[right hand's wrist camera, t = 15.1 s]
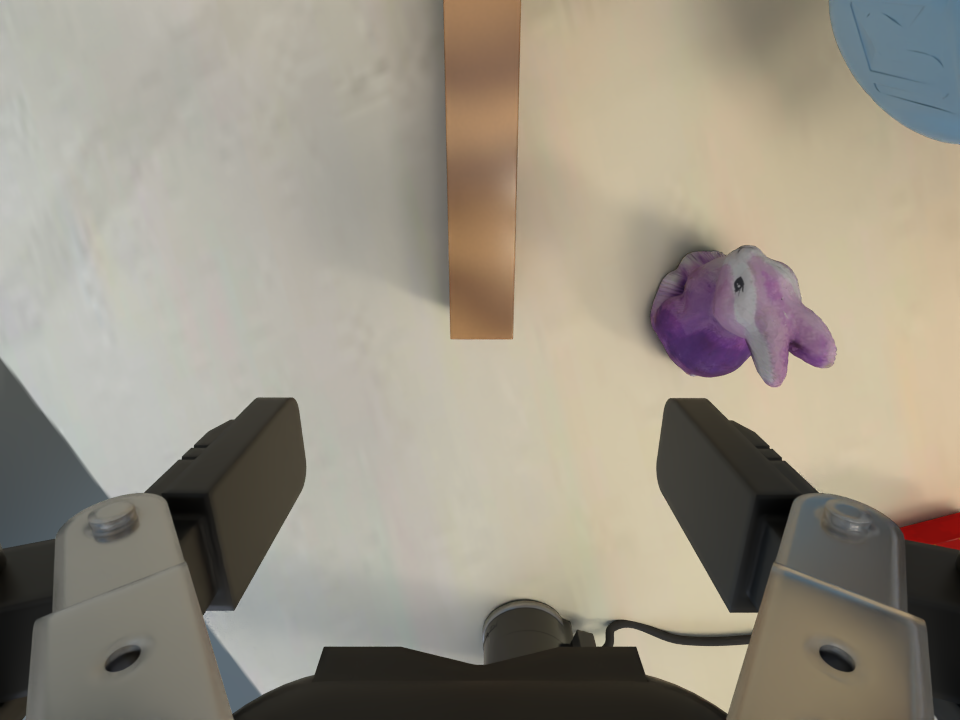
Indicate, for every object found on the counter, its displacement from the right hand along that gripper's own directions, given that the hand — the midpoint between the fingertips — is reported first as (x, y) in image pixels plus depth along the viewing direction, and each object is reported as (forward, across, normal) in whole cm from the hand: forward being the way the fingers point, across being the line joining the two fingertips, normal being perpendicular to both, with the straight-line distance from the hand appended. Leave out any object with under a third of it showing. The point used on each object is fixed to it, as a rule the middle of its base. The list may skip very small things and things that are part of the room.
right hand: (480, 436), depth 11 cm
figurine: (+34, -19, +5) cm, 39 cm away
